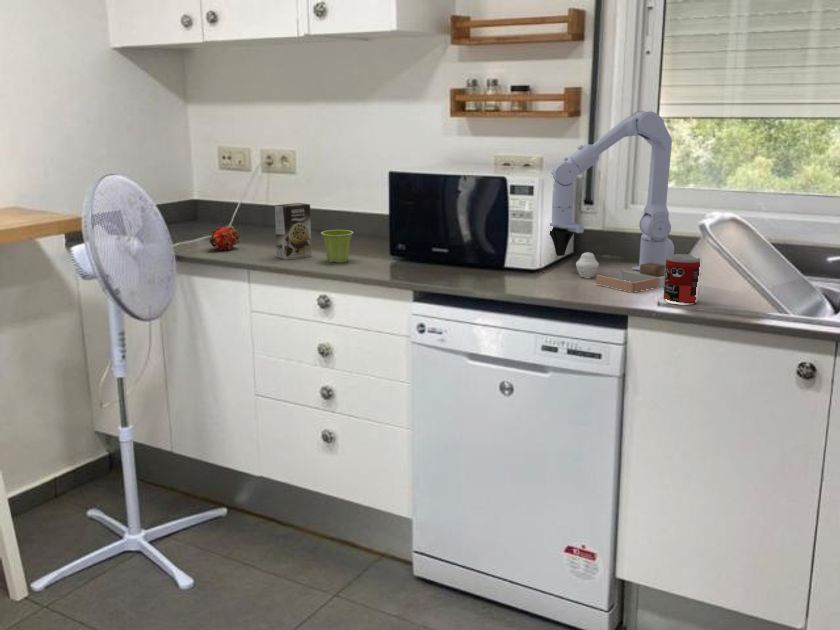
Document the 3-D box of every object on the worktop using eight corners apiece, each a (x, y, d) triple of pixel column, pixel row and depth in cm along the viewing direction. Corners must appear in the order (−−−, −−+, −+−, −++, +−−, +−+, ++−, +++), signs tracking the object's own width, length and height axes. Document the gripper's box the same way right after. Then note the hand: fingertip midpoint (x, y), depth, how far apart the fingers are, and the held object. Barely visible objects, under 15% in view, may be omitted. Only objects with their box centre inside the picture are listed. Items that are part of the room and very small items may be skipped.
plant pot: (358, 262, 252) (358, 233, 250) (329, 265, 248) (328, 235, 245) (346, 257, 260) (345, 228, 258) (317, 259, 256) (316, 231, 253)
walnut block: (650, 279, 229) (651, 262, 228) (663, 281, 225) (665, 265, 224) (639, 281, 226) (640, 264, 225) (653, 284, 223) (654, 267, 222)
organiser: (646, 274, 234) (646, 265, 233) (682, 282, 224) (683, 273, 224) (596, 284, 222) (596, 275, 221) (632, 293, 212) (633, 283, 212)
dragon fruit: (241, 251, 278) (215, 263, 268) (223, 235, 279) (197, 246, 270) (249, 232, 273) (224, 243, 263) (231, 216, 274) (205, 226, 265)
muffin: (593, 280, 227) (594, 254, 225) (571, 277, 230) (573, 252, 228) (601, 276, 232) (602, 251, 230) (580, 273, 235) (581, 249, 233)
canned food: (658, 298, 207) (661, 254, 204) (690, 297, 207) (694, 253, 205) (669, 306, 199) (673, 260, 197) (702, 305, 200) (706, 259, 197)
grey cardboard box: (286, 260, 255) (284, 206, 251) (276, 257, 260) (273, 204, 256) (312, 256, 261) (310, 204, 257) (301, 253, 266) (299, 202, 262)
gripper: (533, 205, 237) (531, 253, 241) (572, 210, 226) (569, 260, 230) (551, 203, 241) (549, 250, 245) (590, 208, 230) (587, 258, 234)
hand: (560, 255), depth 238 cm, fingers closed
